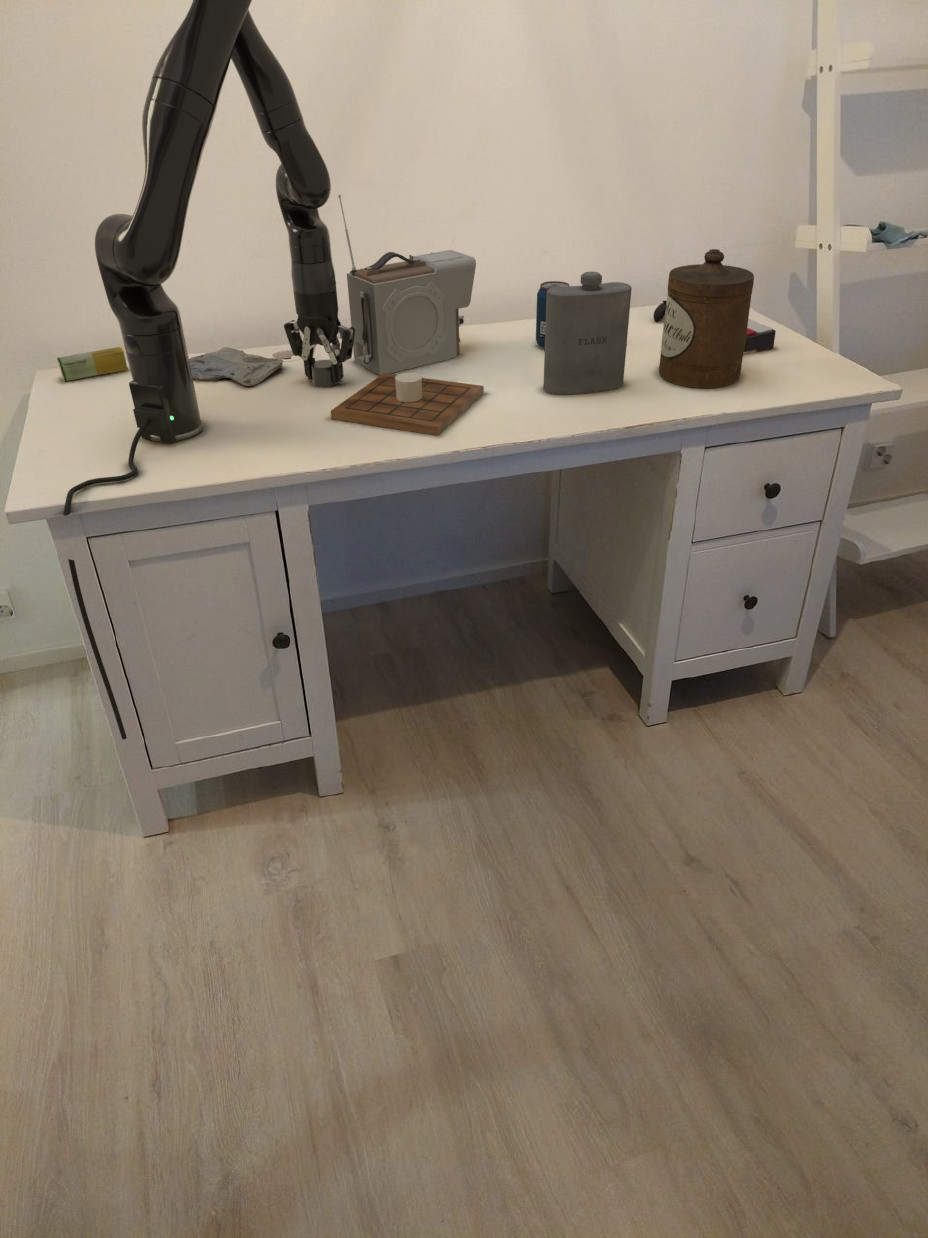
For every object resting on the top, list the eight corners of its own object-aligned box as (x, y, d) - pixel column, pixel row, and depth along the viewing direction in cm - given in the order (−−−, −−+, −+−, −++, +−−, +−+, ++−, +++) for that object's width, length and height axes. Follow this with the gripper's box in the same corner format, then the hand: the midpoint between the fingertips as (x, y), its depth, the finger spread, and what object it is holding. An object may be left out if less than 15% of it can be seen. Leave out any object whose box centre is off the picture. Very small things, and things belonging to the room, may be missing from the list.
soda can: (546, 338, 185) (548, 278, 178) (575, 343, 182) (579, 283, 175) (529, 347, 181) (530, 286, 174) (558, 353, 177) (561, 291, 170)
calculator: (680, 326, 178) (741, 312, 182) (678, 347, 180) (738, 333, 185) (715, 341, 170) (777, 326, 174) (712, 363, 172) (774, 348, 177)
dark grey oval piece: (653, 319, 191) (654, 293, 192) (651, 331, 197) (652, 306, 198) (699, 319, 190) (700, 294, 191) (695, 332, 196) (696, 307, 197)
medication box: (64, 382, 168) (58, 362, 166) (61, 376, 170) (55, 357, 168) (128, 369, 173) (123, 350, 170) (125, 364, 175) (120, 345, 172)
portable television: (478, 352, 178) (477, 188, 161) (375, 377, 168) (362, 204, 150) (445, 337, 187) (441, 180, 169) (345, 360, 176) (330, 195, 159)
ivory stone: (415, 403, 152) (414, 383, 150) (391, 400, 154) (390, 379, 152) (426, 394, 156) (426, 374, 154) (403, 391, 157) (402, 371, 155)
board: (437, 435, 145) (437, 426, 144) (331, 418, 151) (330, 410, 150) (483, 393, 160) (483, 385, 159) (385, 380, 166) (384, 372, 165)
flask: (549, 397, 157) (553, 280, 146) (539, 386, 162) (543, 272, 151) (628, 389, 160) (639, 274, 149) (617, 378, 165) (626, 265, 153)
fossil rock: (290, 368, 173) (288, 356, 171) (239, 394, 162) (236, 381, 161) (221, 355, 180) (219, 343, 178) (168, 378, 169) (165, 366, 168)
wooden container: (653, 361, 172) (665, 241, 159) (730, 361, 171) (748, 240, 159) (664, 389, 160) (679, 261, 147) (747, 388, 159) (769, 259, 147)
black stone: (329, 388, 163) (327, 369, 161) (308, 385, 165) (305, 366, 163) (342, 380, 167) (340, 361, 165) (320, 377, 168) (318, 358, 166)
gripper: (268, 287, 155) (281, 382, 165) (339, 295, 151) (348, 392, 160) (291, 277, 161) (302, 369, 171) (360, 284, 156) (368, 378, 166)
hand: (324, 380), depth 165 cm, fingers open, 4 cm apart
